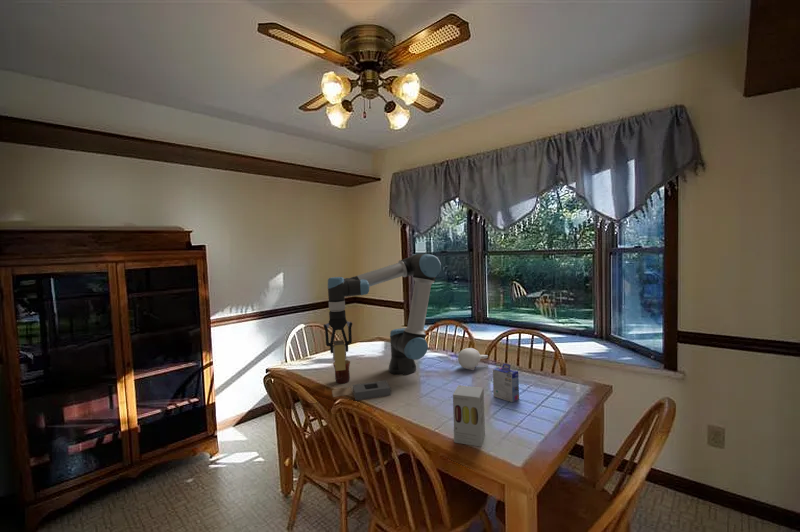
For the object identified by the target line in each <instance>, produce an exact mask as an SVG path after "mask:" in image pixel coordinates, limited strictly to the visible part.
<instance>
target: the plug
mask: <svg viewBox="0 0 800 532" xmlns="http://www.w3.org/2000/svg"><path fill="white" fill-rule="evenodd" d="M344 344H345V341H344V339H341V340H334V342H333V345H334V347H335V361H334V362H335V368H334V370H335V369H336V371H340V370H346V368H345V360H346V359H345V349H344Z"/></svg>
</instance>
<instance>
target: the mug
mask: <svg viewBox="0 0 800 532" xmlns="http://www.w3.org/2000/svg"><path fill="white" fill-rule="evenodd" d="M350 364H351V361H350V360H348V359H345V368H346V370H340V371H336V369H335V361H333V363H332V365H333V368H334V380H335V383H336V384H338V385H339V384H340V385H344V384H347V383H349V382H350V381H351V380H350V379H351V377H350V373H351V372H350V366H351V365H350Z"/></svg>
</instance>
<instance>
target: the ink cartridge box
mask: <svg viewBox="0 0 800 532" xmlns="http://www.w3.org/2000/svg"><path fill="white" fill-rule="evenodd" d="M519 381H520V380H519V370H514V369H511V364H509V363H504V362H503V364H502V366H499V367H496V368H494V369H492V386H493V387H492V389H493V390H492V391H493V393H492V395H493V397H495V398H498V399H501V400H504V401H507V402H511V403H514V402H516V401H519V400H520V388H519V387H520V386H519V385H520V384H519Z"/></svg>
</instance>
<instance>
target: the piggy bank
mask: <svg viewBox="0 0 800 532" xmlns="http://www.w3.org/2000/svg"><path fill="white" fill-rule="evenodd" d="M488 358H489V355H488V354H480V352H479V350H477V349H475V348H473V347H466V348H464V349H461V350H460V351H459V353H458V355H457V361H458V364H459V365H460V366H461V367H462V368H463V369H466V370H472V371H473V370H474V371H475V370H476V367H477V366H479V364H480V362H481V359H482V360H483V359H484V360H485V359H488Z"/></svg>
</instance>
